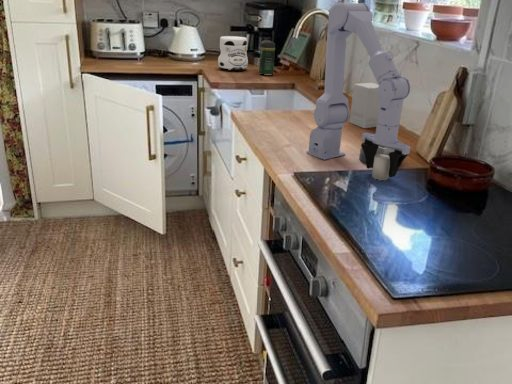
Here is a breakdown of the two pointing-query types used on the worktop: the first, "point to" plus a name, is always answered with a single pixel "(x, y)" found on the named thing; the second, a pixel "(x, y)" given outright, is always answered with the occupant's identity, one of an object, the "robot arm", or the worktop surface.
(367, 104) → the supplement box
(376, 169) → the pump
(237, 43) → the milk container
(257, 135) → the worktop surface
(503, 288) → the worktop surface
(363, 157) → the square tube on disc
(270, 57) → the coffee jar
